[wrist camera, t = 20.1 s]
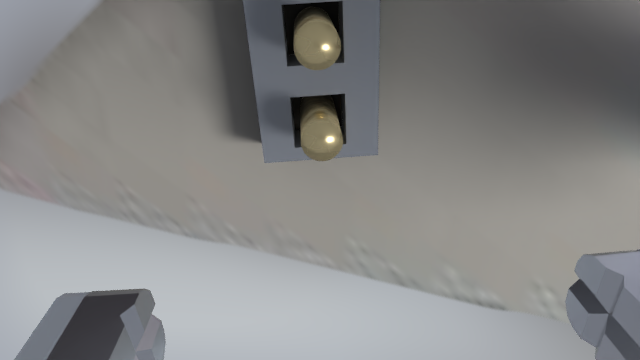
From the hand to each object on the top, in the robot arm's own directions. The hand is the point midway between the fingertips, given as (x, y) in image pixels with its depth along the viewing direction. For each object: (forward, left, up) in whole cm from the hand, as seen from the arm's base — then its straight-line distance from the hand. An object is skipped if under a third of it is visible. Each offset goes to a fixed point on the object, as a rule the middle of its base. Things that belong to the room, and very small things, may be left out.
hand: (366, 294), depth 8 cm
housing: (0, +3, -31) cm, 31 cm away
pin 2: (0, +7, -31) cm, 32 cm away
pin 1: (0, 0, -31) cm, 31 cm away
